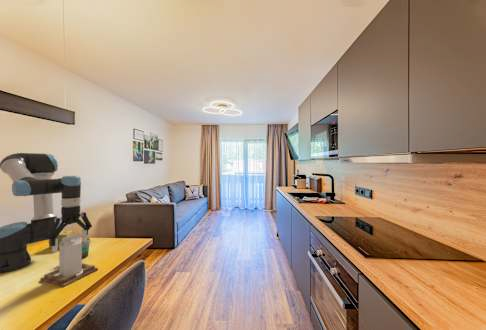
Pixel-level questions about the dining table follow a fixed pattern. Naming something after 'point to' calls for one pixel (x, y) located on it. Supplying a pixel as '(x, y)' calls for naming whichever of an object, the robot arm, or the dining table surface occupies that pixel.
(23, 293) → the dining table surface
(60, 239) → the cheese
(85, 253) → the food container
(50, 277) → the brown picture frame
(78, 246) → the milk carton
